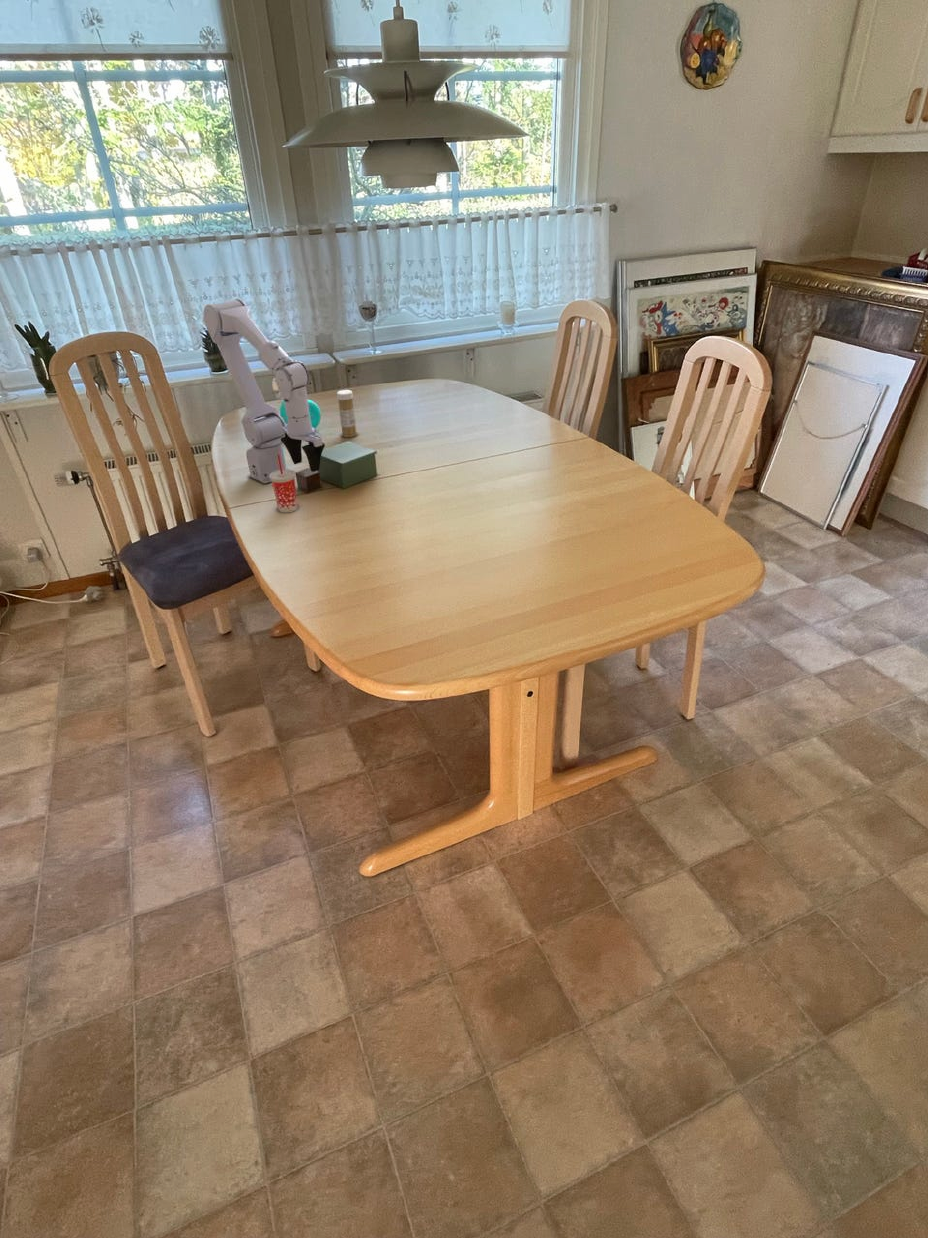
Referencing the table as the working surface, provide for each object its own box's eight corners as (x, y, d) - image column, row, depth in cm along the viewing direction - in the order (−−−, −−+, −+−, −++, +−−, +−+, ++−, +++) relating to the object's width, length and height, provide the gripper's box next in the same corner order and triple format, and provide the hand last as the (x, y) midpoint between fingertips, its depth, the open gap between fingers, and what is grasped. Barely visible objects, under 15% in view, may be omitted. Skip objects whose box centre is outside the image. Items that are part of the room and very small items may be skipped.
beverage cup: (305, 508, 173) (296, 454, 165) (283, 516, 169) (273, 461, 161) (292, 500, 176) (283, 447, 168) (270, 508, 173) (260, 454, 165)
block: (307, 492, 180) (305, 477, 178) (297, 488, 183) (295, 472, 180) (321, 487, 183) (319, 471, 180) (311, 483, 185) (309, 467, 183)
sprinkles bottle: (351, 431, 217) (347, 388, 210) (359, 435, 214) (355, 391, 207) (339, 435, 215) (333, 391, 207) (347, 439, 212) (341, 394, 204)
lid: (376, 453, 185) (376, 450, 184) (342, 466, 178) (342, 463, 178) (348, 443, 192) (348, 440, 191) (314, 455, 185) (314, 452, 184)
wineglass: (276, 414, 233) (270, 377, 226) (293, 412, 234) (288, 375, 227) (278, 419, 228) (271, 382, 221) (295, 417, 230) (289, 380, 223)
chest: (377, 475, 189) (375, 453, 185) (343, 488, 182) (340, 466, 178) (351, 464, 195) (348, 443, 192) (317, 477, 188) (314, 455, 185)
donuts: (296, 436, 215) (291, 404, 209) (281, 428, 221) (275, 397, 215) (324, 429, 220) (320, 397, 214) (309, 421, 226) (304, 390, 220)
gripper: (329, 416, 170) (336, 469, 177) (294, 404, 178) (302, 455, 186) (305, 424, 166) (313, 477, 173) (271, 411, 174) (280, 463, 182)
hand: (306, 466), depth 179 cm, fingers open, 7 cm apart
